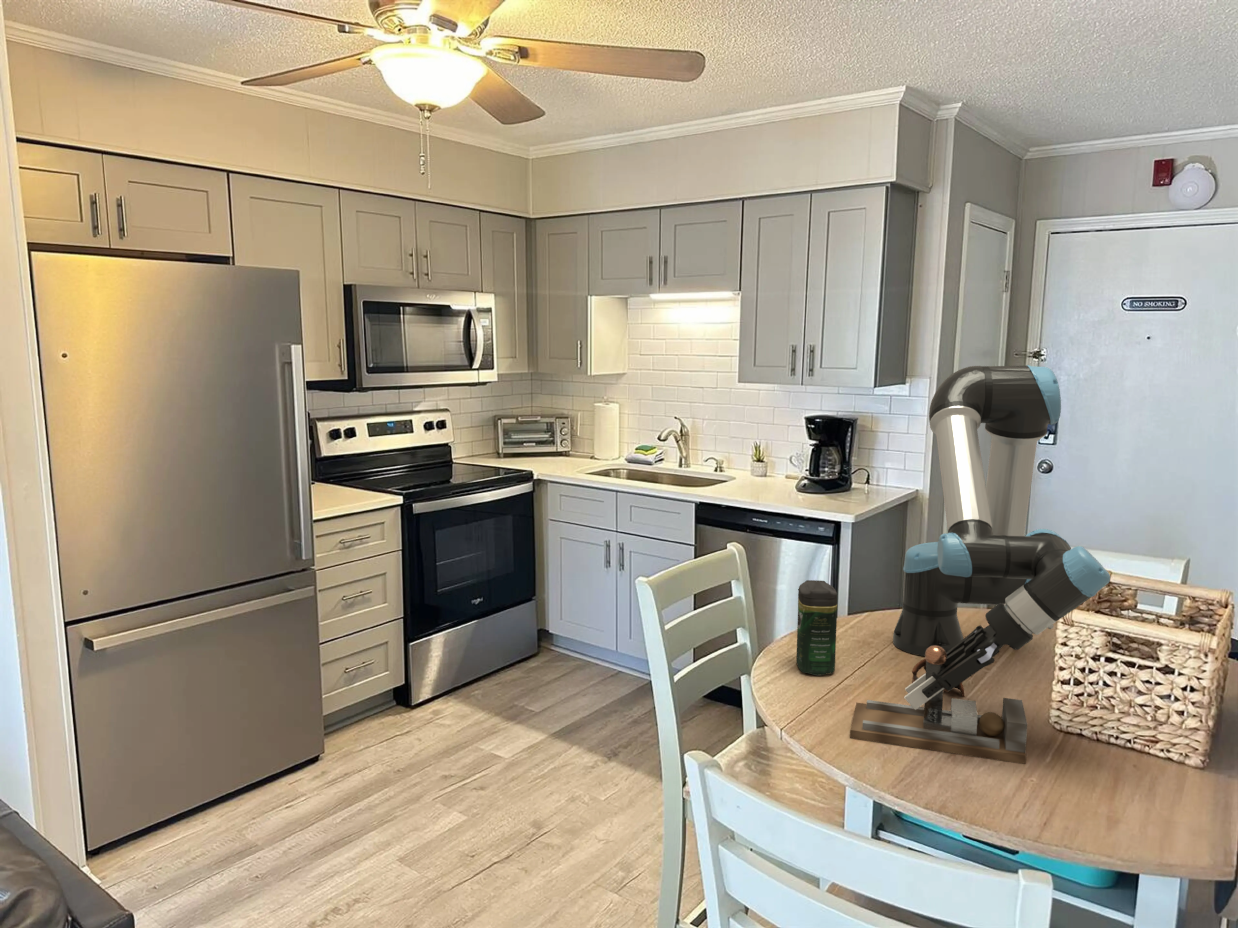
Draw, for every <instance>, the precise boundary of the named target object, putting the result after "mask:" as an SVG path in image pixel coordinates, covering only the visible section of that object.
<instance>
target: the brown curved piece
mask: <svg viewBox="0 0 1238 928" xmlns="http://www.w3.org/2000/svg"><path fill="white" fill-rule="evenodd" d="M922 668H923V670H924V672H926V659H925V658H923V659H922V660H920V661H919V662H917V663H916V664H915V665H914V666H913V668H912V670H911V673H912V678H911V679H912V680H911V684H912V683H913V682H914V681H916V680H917V679H918V678H919V677H918V676H917V675H918V673H919V671H920V670H922ZM953 689H957V690H959V692H960V693H961V697H962V698H965V696H966V695H965V687H964V684H963V682H962V683H960V684H959V685H957V686H956V687H954V688H953ZM943 692H945V693H949V692H950V691H947V690H946V689H943Z"/></svg>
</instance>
